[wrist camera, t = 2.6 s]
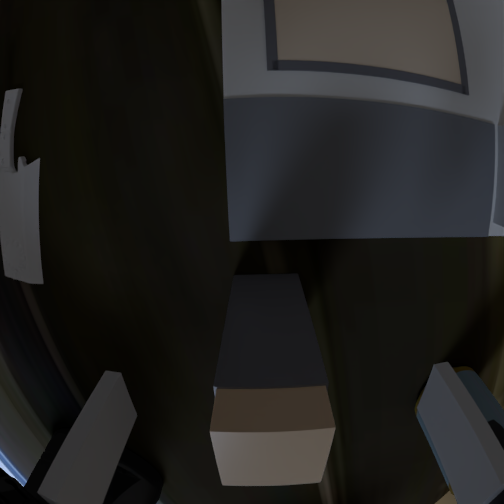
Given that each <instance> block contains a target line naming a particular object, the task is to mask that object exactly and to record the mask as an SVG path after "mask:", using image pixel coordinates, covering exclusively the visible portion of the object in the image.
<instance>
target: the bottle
mask: <svg viewBox="0 0 504 504" xmlns="http://www.w3.org/2000/svg"><path fill="white" fill-rule="evenodd" d="M452 368H453V370H454V371H455V373H456V374H457V376H458V377H459V379H460V380H461V382H462V383H463V385H464V386H465V388H466V389H467V391H468V392H469V394H470V395H471V397H472V398H473V400H474V401H475V403H476V405H477V406H478V408H479V409H480V411H481V413H482V414H483V416H484V417H485V419H486V421H487V422H488V421H490V420H493V419H494V420H495V421H496V422H498V423H499V424H500V425H501V426H502V427H503V428H504V410H503V409H502V407H501V406H500V404H499V403H498V402H497V400H496V399H495V397H494V396H493V395H492V393H491V392H490V391H489V389H488V388H487V387H486V385H485V384H484V383H483V381H482V380H481V379H480V377H479V376H478V375H477V373H476V372H475V371H474V370H473V369H472V368H470V367H467V366H461V367H452ZM425 387H426V386H425ZM425 387H424V388H423V390H422V391H421V393H420V395H419V397H418V400H417V402H416V406H415V413H416V416H417V418H418V421H419V423H420V425H421V427H422V429H423V431H424V433H425V435H426V438H427V440H428V442H429V444H430V446H431V448H432V451H433V453H434V455H435V457H436V460H437V462H438V464H439V466H440V469H441V471H442V473H443V476H444V478H445V480H446V483H447V485H448V488H449V489H450V491H451V493H452V494H453V495H454V493H453V490H452V488H451V485H450V483H449V480H448V478H447V475H446V473H445V470H444V468H443V465H442V463H441V461H440V458H439V456H438V454H437V451H436V449H435V447H434V444H433V442H432V440H431V437H430V435H429V433H428V431H427V429H426V426H425V424H424V422H423V420H422V418H421V416H420V413H419V411H418V409H417V406H418V404H419V402H420V399H421V397H422V394H423V392H424V389H425Z"/></svg>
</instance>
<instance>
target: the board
mask: <svg viewBox="0 0 504 504" xmlns="http://www.w3.org/2000/svg"><path fill="white" fill-rule="evenodd" d="M221 3H222V54H223V89H224V99H223V101H224V128H225V152H226V174H227V195H228V214H229V232H230V241H262V240H302V239H348V238H408V237H488V236H504V0H221Z"/></svg>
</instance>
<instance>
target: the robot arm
mask: <svg viewBox="0 0 504 504" xmlns="http://www.w3.org/2000/svg"><path fill="white" fill-rule="evenodd" d="M417 409H418V411H419V413H420V416H421V418H422V420H423V422H424V424H425V426H426V429H427V431H428V433H429V435H430V437H431V440H432V442H433V444H434V447H435V449H436V451H437V454H438V456H439V458H440V461H441V463H442V465H443V468H444V470H445V473H446V475H447V478H448V480H449V483H450V485H451V488H452V490H453V493H454V496H455V498H456V501H457V504H504V428H503V427H502V426H501V425H500V424H499V423H498V422H496V421H495V420H494V419H493V420H490V421H488V422H487V421H486V419H485V417H484V416H483V414H482V413H481V411H480V409H479V408H478V406H477V405H476V403H475V401H474V400H473V398H472V397H471V395H470V394H469V392H468V391H467V389H466V388H465V386H464V385H463V383H462V382H461V380H460V379H459V377H458V376H457V374H456V373H455V371H454V370H453V368H452V367H451V365H450V364H449V363H448V362H443V363H438V364H434V366H433V368H432V371H431V374H430V376H429V379H428V382H427V384H426V387H425V389H424V392H423V394H422V397H421V399H420V402H419V404H418V406H417ZM136 417H137V413H136V411H135V408H134V406H133V403H132V401H131V398H130V396H129V393H128V390H127V388H126V385H125V382H124V380H123V377H122V374H121V373H120V372H112V371H105V372H104V374H103V376H102V377H101V379H100V381H99V382H98V384H97V386H96V387H95V389H94V391H93V392H92V394H91V396H90V397H89V399H88V401H87V402H86V404H85V406H84V407H83V409H82V411H81V412H80V414H79V416H78V418H77V419H76V421H75V423H74V425H73V426H72V428H62V429H58V430H57V431H56V432H55V433H54V434H53V436H52V438H51V440H50V441H49V443H48V445H47V447H46V449H45V452H43V454H42V456H41V459H39V461H38V463H37V464H36V466H35V468H34V470H33V472H32V473H31V475H30V477H29V479H28V481H27V483H26V484H25V486H24V487H23V486H22V485H21V484H20V483H19V482H18V481H17V480H16V479H15V478H13V477H11V476H9V475H8V474H7V473H6V472H5V471H4V470H3V469H2V468H0V504H156V503H157V501H158V500H159V498H160V494H161V490H162V486H163V480H162V478H161V476H160V474H159V473H158V472H157V471H156V470H155V469H154V468H153V467H152V466H151V465H150V464H149V463H148V462H146V461H145V460H144V459H142V458H141V457H139V456H138V455H136V454H135V453H133V452H132V451H130V450H128V449H126V448H125V444H126V442H127V439H128V437H129V434H130V432H131V430H132V427H133V425H134V422H135V420H136Z"/></svg>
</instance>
